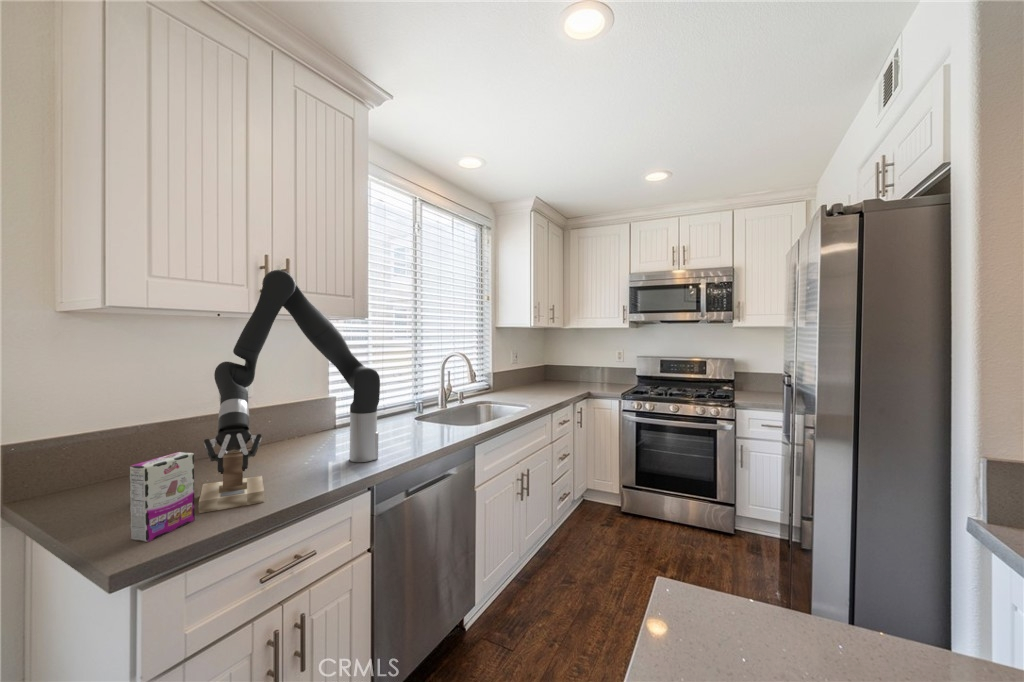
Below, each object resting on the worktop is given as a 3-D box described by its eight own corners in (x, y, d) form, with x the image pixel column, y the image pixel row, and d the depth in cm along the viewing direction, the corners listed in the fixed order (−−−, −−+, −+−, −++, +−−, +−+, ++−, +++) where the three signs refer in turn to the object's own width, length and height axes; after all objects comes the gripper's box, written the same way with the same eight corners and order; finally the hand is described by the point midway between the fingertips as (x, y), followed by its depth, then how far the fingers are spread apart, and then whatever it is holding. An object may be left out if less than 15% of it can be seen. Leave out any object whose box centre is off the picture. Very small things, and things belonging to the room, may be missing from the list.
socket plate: (261, 485, 125) (261, 475, 125) (263, 502, 113) (264, 490, 113) (203, 494, 117) (203, 483, 117) (198, 513, 105) (198, 500, 105)
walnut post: (242, 480, 118) (242, 451, 118) (242, 485, 114) (242, 455, 114) (223, 483, 116) (223, 453, 116) (222, 488, 112) (223, 458, 112)
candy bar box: (178, 518, 102) (178, 451, 102) (195, 520, 101) (195, 452, 101) (127, 540, 91) (128, 464, 91) (146, 543, 90) (146, 466, 90)
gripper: (203, 412, 117) (199, 468, 107) (262, 408, 125) (264, 460, 115) (204, 428, 122) (200, 482, 112) (262, 423, 129) (263, 474, 119)
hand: (233, 471), depth 113 cm, fingers closed on walnut post, 4 cm apart
